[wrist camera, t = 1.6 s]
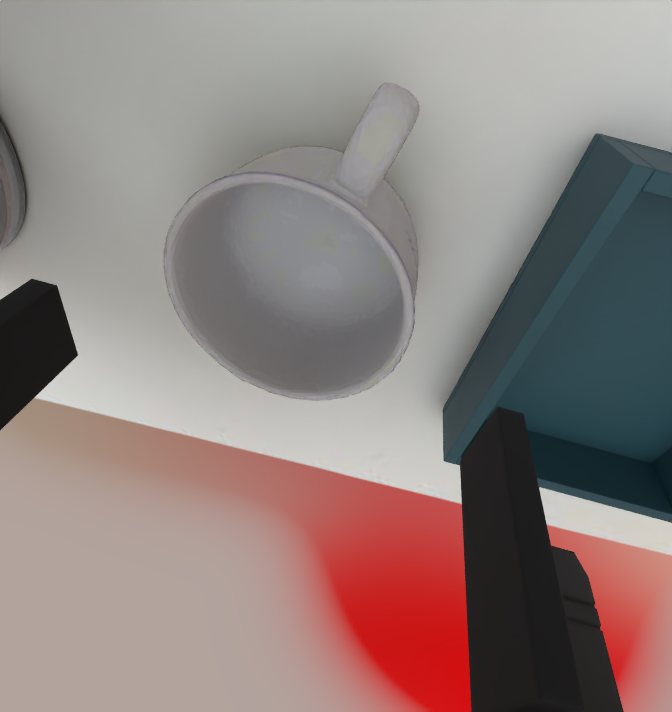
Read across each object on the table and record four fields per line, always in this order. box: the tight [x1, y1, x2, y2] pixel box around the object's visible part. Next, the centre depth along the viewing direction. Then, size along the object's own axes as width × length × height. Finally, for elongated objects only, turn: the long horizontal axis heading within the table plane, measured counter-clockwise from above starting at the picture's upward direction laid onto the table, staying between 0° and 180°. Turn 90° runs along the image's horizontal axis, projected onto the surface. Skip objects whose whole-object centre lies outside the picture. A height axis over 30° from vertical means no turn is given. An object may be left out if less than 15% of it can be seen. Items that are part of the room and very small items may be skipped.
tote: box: [443, 134, 672, 523], centre depth 22 cm, size 16×19×5 cm
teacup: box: [164, 83, 419, 400], centre depth 19 cm, size 14×11×8 cm
